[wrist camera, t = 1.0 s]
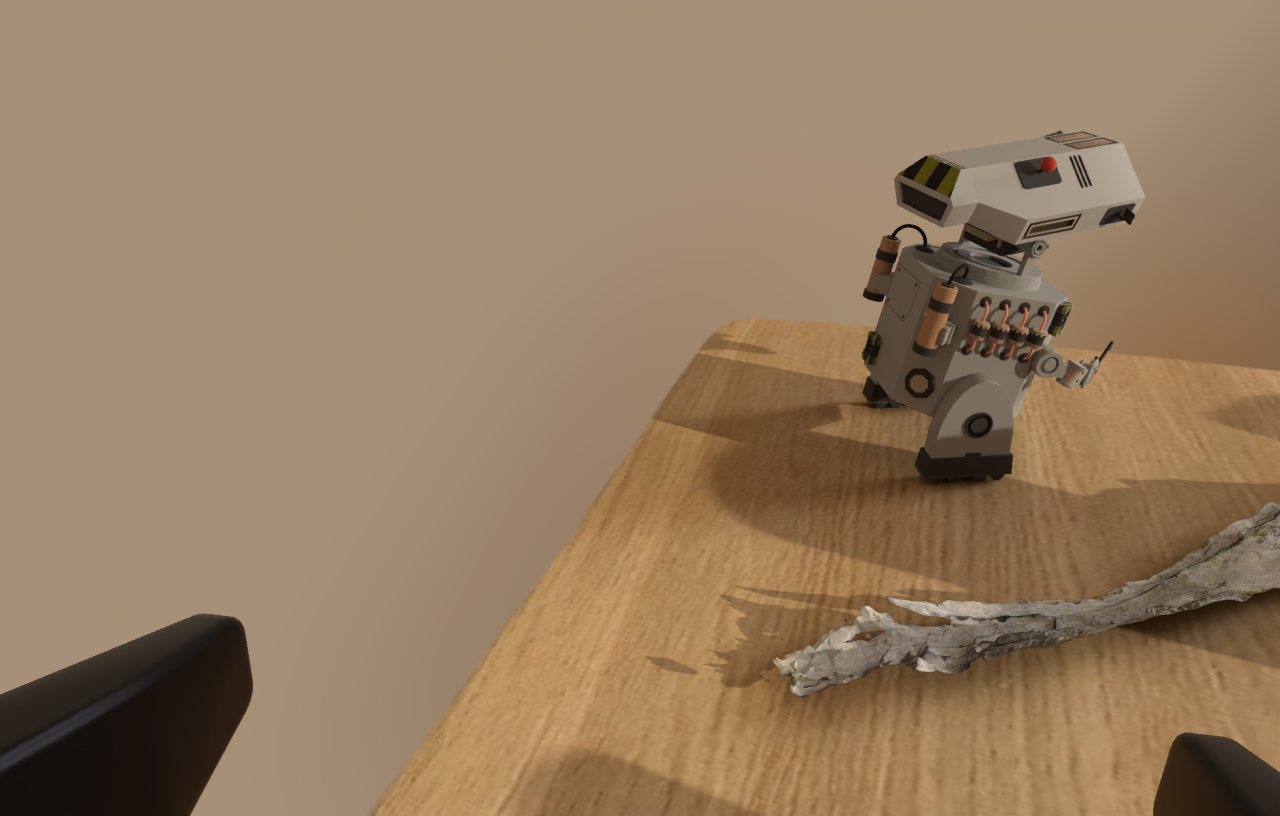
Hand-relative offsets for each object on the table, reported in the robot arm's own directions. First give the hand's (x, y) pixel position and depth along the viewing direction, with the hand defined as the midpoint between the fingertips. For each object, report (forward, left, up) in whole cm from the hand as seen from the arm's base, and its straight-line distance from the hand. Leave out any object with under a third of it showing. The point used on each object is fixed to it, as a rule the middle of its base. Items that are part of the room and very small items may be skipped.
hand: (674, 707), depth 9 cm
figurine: (+34, -17, -17) cm, 41 cm away
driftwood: (+21, -23, -17) cm, 35 cm away
